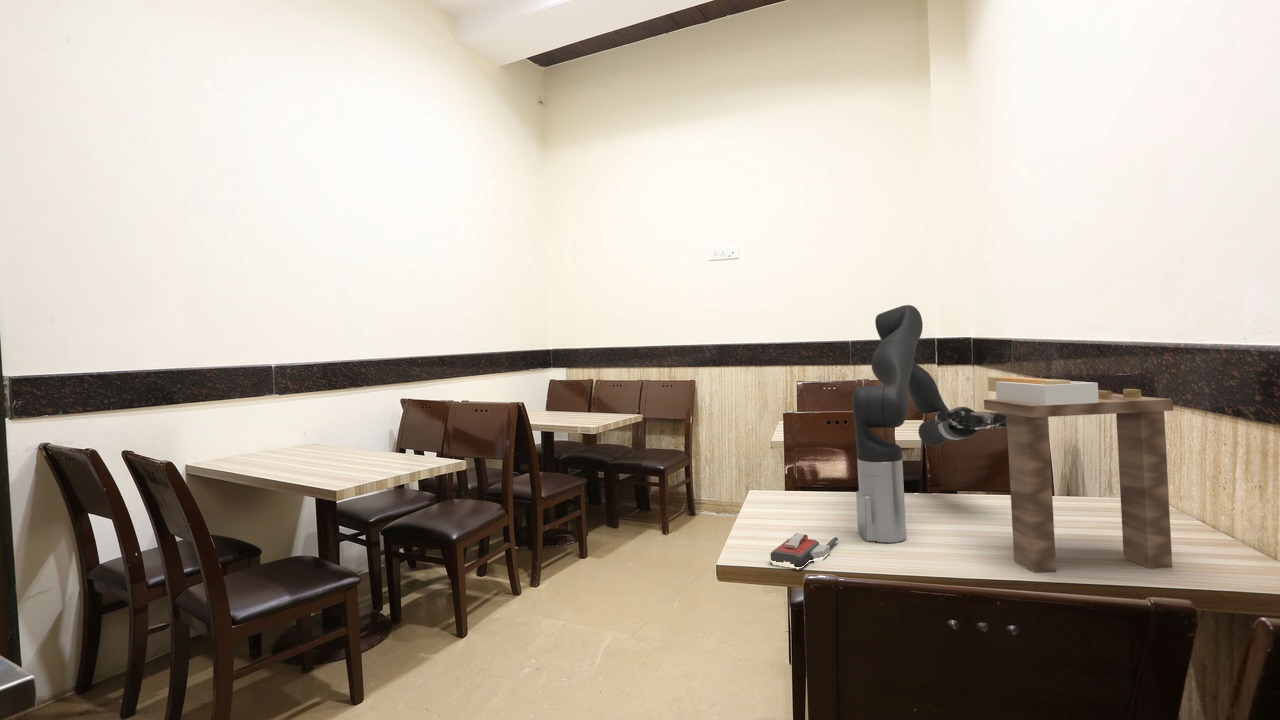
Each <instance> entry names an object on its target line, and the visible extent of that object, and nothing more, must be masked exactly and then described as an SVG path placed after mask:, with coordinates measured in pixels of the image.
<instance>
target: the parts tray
mask: <svg viewBox="0 0 1280 720" xmlns="http://www.w3.org/2000/svg"><path fill="white" fill-rule="evenodd" d="M1070 381H1071V384H1056V385H1041V384H1027V383H1014V382H996V392H995V393H996V398H995V399H999V400H1007V401H1015V402H1023V403H1031V404H1038V405H1065V404H1085V403H1099V399H1098V390H1099V382H1091V381H1089V382H1087V381H1075V380H1074V381H1072V380H1070Z"/></svg>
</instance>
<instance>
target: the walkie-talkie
mask: <svg viewBox="0 0 1280 720" xmlns="http://www.w3.org/2000/svg"><path fill="white" fill-rule="evenodd" d="M808 537H809V536H808V534H805V533H804V534H803V533H797V532H796V533H795V534H794V535H792V536H791V537H790V538H788V539H786V540H785V541H784V542H782V544H780V545H779V546H778V547H776V548H775V549H773V550H772V551H771V552H770V561H771V560H772V561H776V562H782V563H783V562H784V561H785V562H790V564H794V566H795V567H802V566H804V565H805V564H806V563H807V562H808V561H809V560H813V559H815V558H820V557H824V556H825V555H826V554H828V553H830V554H831V548H832V547H833V546H834V545H835V544H836V543H837V542H838V541H839V537H837V536H836V537H834V536H833V538H831V540H830V541H829V542H827V543H826V544H821V543H820V542H819V541H818V540H816V539H812V538H811V539H810V538H808Z"/></svg>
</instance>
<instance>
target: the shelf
mask: <svg viewBox="0 0 1280 720" xmlns="http://www.w3.org/2000/svg"><path fill="white" fill-rule="evenodd" d="M1122 393H1123V394H1116V393H1112V390H1101V389H1100V390H1099V389H1098V399H1099V403H1085V404H1065V405H1038V404H1031V403H1023V402H1015V401H1007V400H999V399H997V398H994V399H993V398H991V399H990V398H989V399H983V410H985V411H990V412H996V413H1002V414H1003V413H1004V414H1006V415H1005V416H1007V427H1006V429H1007V431H1006V432H1007V433H1006V434H1007V450H1008V451H1007V452H1008V453H1007V454H1008V464H1009V465H1008V466H1009V468H1008V469H1009V484H1010V485H1009V487H1010V488H1009V489H1010V505H1011V525H1012V526H1011V527H1012V543H1013V561H1015V562H1014V563H1016V562H1017V563H1016V564H1018V565H1020V566H1021V565H1022V566H1021V567H1023V566H1024V567H1023V568H1025V567H1026V568H1027V569H1026V568H1025V569H1026V570H1028V569H1029V570H1028V571H1030V570H1031V571H1033V572H1036V573H1057V561H1056V541H1055V540H1056V539H1055V524H1054V522H1055V521H1054V506H1053V505H1054V504H1053V503H1054V501H1053V485H1052V483H1053V482H1052V464H1051V447H1050V445H1051V444H1050V428H1049V427H1050V425H1049V418H1051V417H1068V416H1069V417H1070V416H1073V417H1074V416H1091V415H1109V414H1112V415H1114V414H1116V432H1117V433H1116V435H1117V437H1116V438H1117V451H1118V452H1117V453H1118V454H1117V455H1118V471H1119V473H1118V474H1119V490H1120V491H1119V492H1120V510H1121V511H1120V513H1121V532H1122V533H1121V534H1122V547H1123V558H1124V559H1127V560H1129V561H1131V562H1134V563H1136V564H1138V565H1140V566H1143V567H1145V568H1148V569H1162V568H1161V567H1170V568H1173V557H1172V556H1173V555H1172V554H1173V553H1172V552H1173V551H1172V535H1171V532H1172V531H1171V520H1170V519H1171V515H1170V514H1171V513H1170V499H1169V498H1170V497H1169V496H1170V495H1169V481H1168V480H1169V477H1168V476H1169V475H1168V460H1167V459H1168V458H1167V456H1168V455H1167V442H1166V441H1167V440H1166V437H1167V436H1166V421H1165V412H1172V411H1174V399H1173V398H1165V397H1163V398H1162V397H1151V396H1150V397H1149V396H1142V390H1141V389H1137V388H1122ZM1159 567H1160V568H1159ZM1031 571H1030V572H1031ZM1043 571H1044V572H1043ZM1033 572H1032V573H1033Z"/></svg>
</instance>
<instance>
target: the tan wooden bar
mask: <svg viewBox="0 0 1280 720" xmlns="http://www.w3.org/2000/svg"><path fill="white" fill-rule="evenodd" d="M1071 381H1072V380H1070V379H1051V378H1035V377H1022V376H1021V377H1019V376H1002V375H1001V376H988V377H987V388H988V392H994V393H996V382H1014V383H1027V384H1041V385H1056V384H1071Z"/></svg>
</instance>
